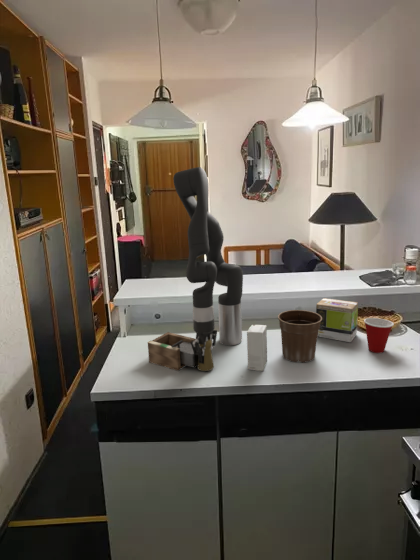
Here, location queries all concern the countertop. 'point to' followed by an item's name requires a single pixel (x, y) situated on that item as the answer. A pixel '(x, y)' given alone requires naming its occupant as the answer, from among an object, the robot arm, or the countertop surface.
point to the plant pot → (299, 334)
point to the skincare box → (257, 347)
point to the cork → (206, 358)
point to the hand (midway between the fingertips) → (205, 361)
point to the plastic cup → (377, 333)
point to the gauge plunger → (186, 353)
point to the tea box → (337, 319)
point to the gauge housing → (167, 350)
